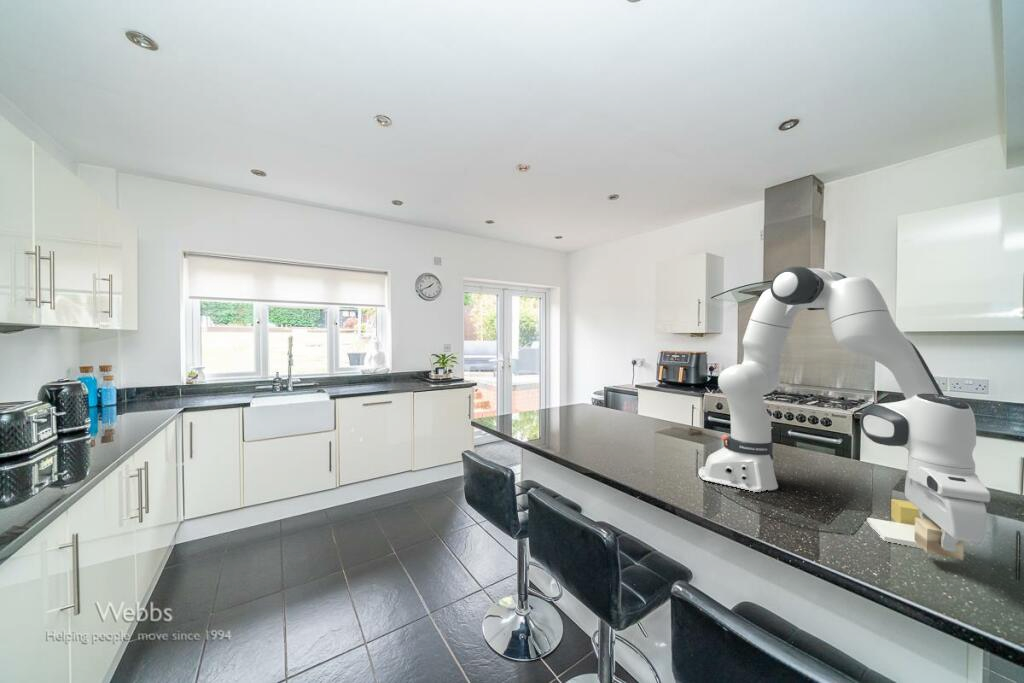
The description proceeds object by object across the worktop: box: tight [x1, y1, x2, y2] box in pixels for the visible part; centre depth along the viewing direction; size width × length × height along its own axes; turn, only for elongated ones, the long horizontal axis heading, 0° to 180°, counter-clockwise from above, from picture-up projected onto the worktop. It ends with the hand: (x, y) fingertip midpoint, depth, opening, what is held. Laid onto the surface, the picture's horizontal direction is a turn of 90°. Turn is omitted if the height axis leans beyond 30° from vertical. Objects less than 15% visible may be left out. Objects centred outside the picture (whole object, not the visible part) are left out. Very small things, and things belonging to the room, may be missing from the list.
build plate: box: [866, 517, 924, 550], centre depth 85 cm, size 10×10×1 cm
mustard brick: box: [890, 498, 921, 525], centre depth 90 cm, size 5×5×5 cm
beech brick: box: [915, 518, 965, 561], centre depth 74 cm, size 5×5×5 cm
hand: (938, 540), depth 74 cm, fingers closed on beech brick, 5 cm apart
